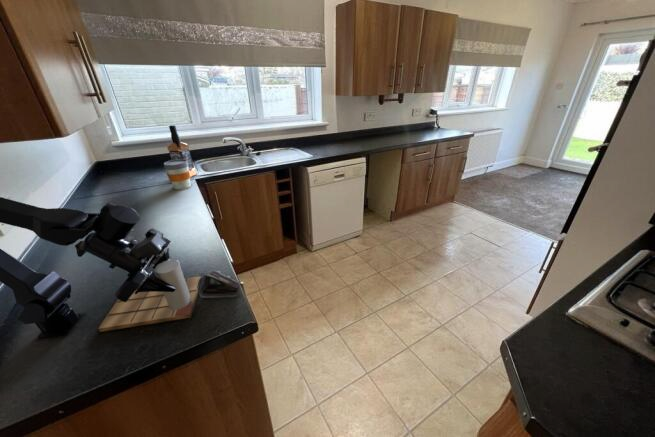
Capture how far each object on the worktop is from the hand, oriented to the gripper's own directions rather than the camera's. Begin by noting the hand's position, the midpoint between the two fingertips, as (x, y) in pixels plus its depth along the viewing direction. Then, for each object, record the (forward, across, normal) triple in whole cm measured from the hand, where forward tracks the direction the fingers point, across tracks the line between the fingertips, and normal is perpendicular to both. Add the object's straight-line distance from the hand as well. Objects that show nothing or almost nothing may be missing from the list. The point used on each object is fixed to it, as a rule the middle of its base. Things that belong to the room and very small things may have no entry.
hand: (178, 282), depth 69 cm
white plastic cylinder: (+4, 0, +6) cm, 7 cm away
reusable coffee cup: (-17, +103, +33) cm, 110 cm away
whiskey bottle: (-20, +125, +36) cm, 132 cm away
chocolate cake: (+13, +9, +2) cm, 16 cm away
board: (0, +5, +15) cm, 16 cm away
